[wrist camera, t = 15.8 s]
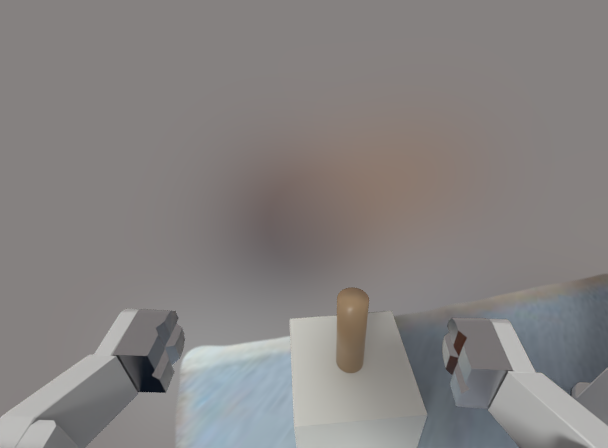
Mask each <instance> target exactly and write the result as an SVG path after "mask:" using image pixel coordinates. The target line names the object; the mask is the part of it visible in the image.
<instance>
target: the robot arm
mask: <svg viewBox="0 0 608 448" xmlns="http://www.w3.org/2000/svg"><path fill="white" fill-rule="evenodd" d="M177 320H178V316H177V313H176V311H168V310H167V311H166V310H148V309H127V308H126V309H124V310H123V311H122V312H121V313H120V314H119V316H118V317H117V319H116V320H115V322H114V324H113V325H112V327H111V328H110V330H109V331H108V333H107V335H106V336H105V338H104V339H103V341H102V343H101V344H100V346H99V347H98V349H97V350H96V352H95V354H94V355H88V356H86V357H85V358H84V359H82V360H81V361H79V362H78V363H77V364H75V365H74V366H72V367H71V368H70V369H68V370H66V371H65V372H64V373H62V374H61V375H59V376H58V377H57V378H55V379H54V380H52V381H51V382H49V383H48V384H47V385H45V386H44V387H42V388H41V389H39V390H38V391H37V392H35V393H34V394H33V395H31V396H30V397H28V398H27V399H25V400H24V401H22V402H21V403H20V404H18V405H17V406H15V407H14V408H13V409H11V410H10V411H8V412H7V413H5V414H4V415H3V416H2V417H1V418H0V448H85V447H86V446H87V445H88V444H89V443H90V442H91V441H92V440H93V439H94V438H95V437H96V436H97V435H98V434H99V433H100V432H101V431H102V430H103V429H104V428H105V427H106V426H107V425H108V424H109V423H110V422H111V421H112V420H113V419H114V418H115V417H116V416H117V415H118V414H119V413H120V412H121V411H122V410H123V409H124V408H125V407H126V406H127V405H128V404H129V403H130V402H131V401H132V400H133V399H134V398H135V397H136V396H137V395H138V392H157V393H166V391H167V389H168V387H169V384H170V381H171V379H172V377H173V374H174V369H173V366H172V365H173V364H174V363H175V362H176V361H177V360H178V359H180V357H181V354H182V351H183V348H184V341H185V338H184V332H183V329H182V327H181V326H179V325H178V324H177ZM447 327H448V330H449V333H448V334H447V335H445V336H444V339H443V343H442V354H443V361H444V364H445V368H446V370H447V371H448V372H449V373H450V374H451V375H452V378H451V381H450V386H451V390H452V393H453V397H454V400H455V404H456V407H467V408H481V409H489V410H488V411H489V412H490V413H491V415H492V416H493V417H494V418H495V419H496V420H497V422H498V423H499V424H500V425H501V426H502V427H503V429H504V430H505V431H506V432H507V433H508V434H509V436H510V437H511V438H512V439H513V440H514V441H515V443H516V444H517V445H518V446H519V447H520V448H608V368H606V369H605V370H604V371H603V372H602V373H601V374H600V375H599V376H598V377H597V378H596V379H595V380H594V381H593V382H592V383H586V382H579V383H577V384H576V385H575V386H574V387H573V388H572V397H571V396H570V395H569V394H568V393H566V392H565V391H564V390H563V389H561V388H560V387H559V386H558V385H556V384H555V383H554V382H553V381H552V380H550V379H549V378H548V377H547V376H545V375H544V374H543V373H539V372H536V371H535V369H534V367H533V365H532V364H531V362H530V360H529V358H528V356H527V354H526V352H525V350H524V348H523V346H522V344H521V342H520V340H519V338H518V336H517V334H516V332H515V330H514V328H513V326H512V324H511V322H510V321H508V320H507V319H486V318H451V319H450V320H449V322H448V325H447Z"/></svg>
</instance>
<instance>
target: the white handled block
mask: <svg viewBox="0 0 608 448" xmlns="http://www.w3.org/2000/svg"><path fill="white" fill-rule="evenodd" d="M368 306H369V297H368V295H367V294H366V293H365V292H364V291H363V290H361V289H358V288H346V289H344V290H342V291H341V292H340V293H339V294H338V297H337V315H334V316H323V317H310V318H297V319H290V340H291V364H292V388H293V412H294V430H295V438H296V446H297V448H417V446H418V443H419V440H420V437H421V434H422V431H423V428H424V424H425V421H426V418H427V412H426V409H425V406H424V403H423V400H422V397H421V394H420V391H419V388H418V386H417V383H416V380H415V377H414V374H413V371H412V368H411V365H410V362H409V359H408V357H407V354H406V351H405V348H404V345H403V342H402V339H401V336H400V333H399V330H398V327H397V325H396V322H395V319H394V316H393V313H392V311H383V312H371V313H368Z"/></svg>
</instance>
